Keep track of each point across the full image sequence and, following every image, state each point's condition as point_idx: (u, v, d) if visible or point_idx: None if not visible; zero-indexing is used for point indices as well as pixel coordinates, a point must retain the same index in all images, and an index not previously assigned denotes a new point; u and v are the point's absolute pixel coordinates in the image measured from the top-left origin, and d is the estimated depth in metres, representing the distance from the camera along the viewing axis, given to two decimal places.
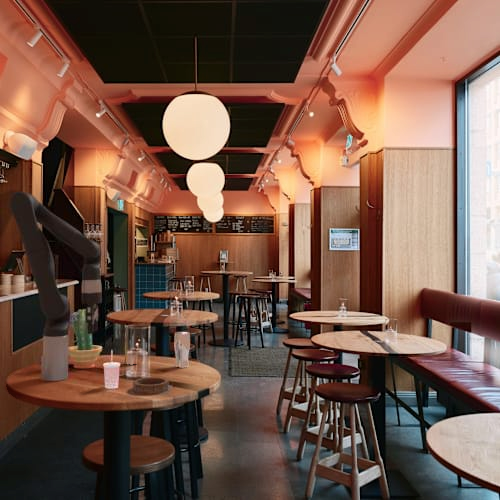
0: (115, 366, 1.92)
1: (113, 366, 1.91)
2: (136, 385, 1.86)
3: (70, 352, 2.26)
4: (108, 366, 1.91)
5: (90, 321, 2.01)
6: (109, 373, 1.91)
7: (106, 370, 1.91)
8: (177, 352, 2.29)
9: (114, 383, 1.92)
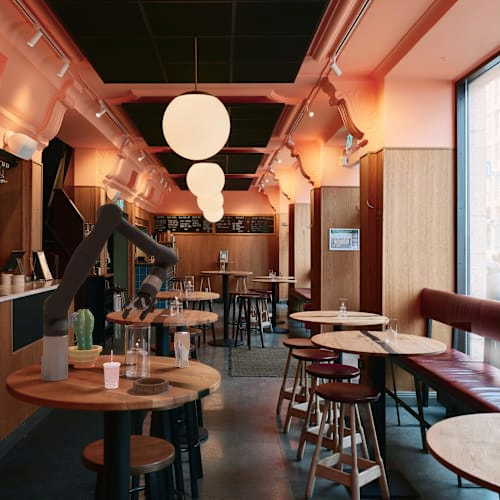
0: (115, 366, 1.92)
1: (113, 366, 1.91)
2: (136, 385, 1.86)
3: (70, 352, 2.26)
4: (108, 366, 1.91)
5: (152, 310, 2.09)
6: (109, 373, 1.91)
7: (106, 370, 1.91)
8: (177, 352, 2.29)
9: (114, 383, 1.92)
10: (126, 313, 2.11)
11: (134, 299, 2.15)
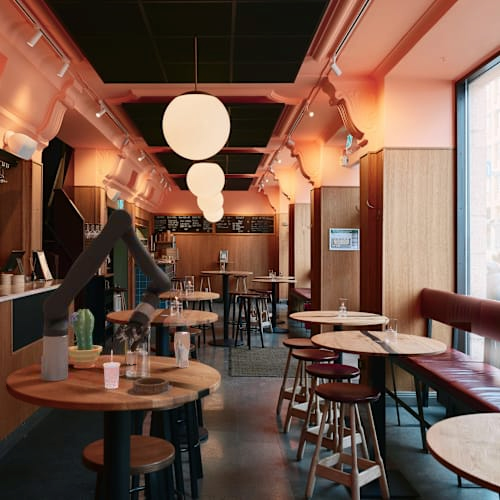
0: (115, 366, 1.92)
1: (113, 366, 1.91)
2: (136, 385, 1.86)
3: (70, 352, 2.26)
4: (108, 366, 1.91)
5: (143, 341, 1.99)
6: (109, 373, 1.91)
7: (106, 370, 1.91)
8: (177, 352, 2.29)
9: (114, 383, 1.92)
10: (116, 343, 2.02)
11: (125, 328, 2.06)
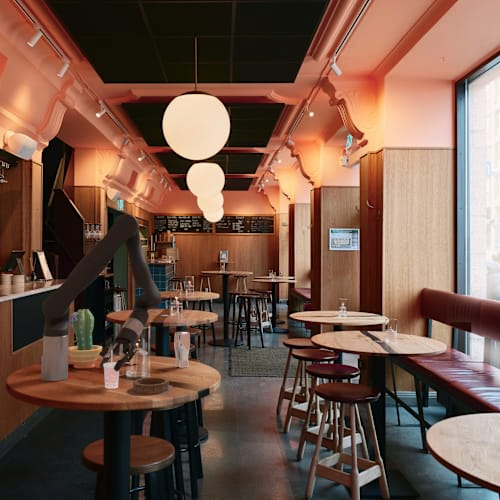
0: None
1: (113, 366, 1.91)
2: (136, 385, 1.86)
3: (70, 352, 2.26)
4: (108, 366, 1.91)
5: (128, 360, 1.93)
6: (109, 373, 1.91)
7: (106, 369, 1.91)
8: (177, 352, 2.29)
9: (114, 383, 1.92)
10: (104, 362, 1.95)
11: (113, 345, 1.99)
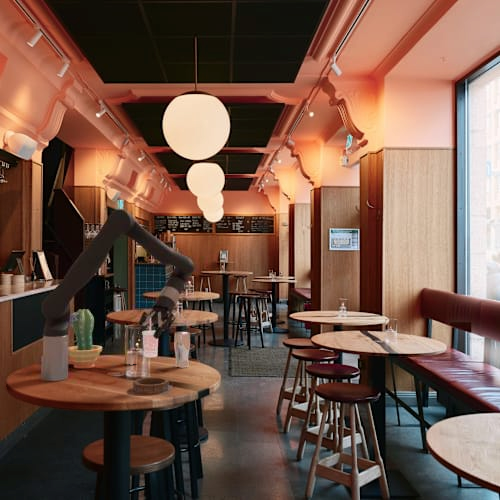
0: None
1: (152, 333, 1.89)
2: (136, 385, 1.86)
3: (70, 352, 2.26)
4: (147, 333, 1.88)
5: (167, 327, 1.90)
6: (149, 340, 1.89)
7: (145, 337, 1.89)
8: (177, 352, 2.29)
9: (153, 350, 1.89)
10: (143, 330, 1.92)
11: (150, 313, 1.96)
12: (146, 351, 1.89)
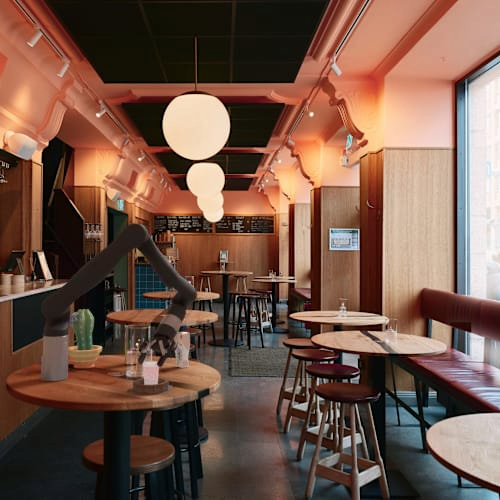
0: (155, 365, 1.89)
1: (153, 365, 1.88)
2: (136, 385, 1.86)
3: (70, 352, 2.26)
4: (148, 365, 1.88)
5: (171, 355, 1.90)
6: (149, 372, 1.88)
7: (146, 369, 1.89)
8: (177, 352, 2.29)
9: (154, 382, 1.89)
10: (142, 357, 1.92)
11: (151, 341, 1.96)
12: (146, 383, 1.89)
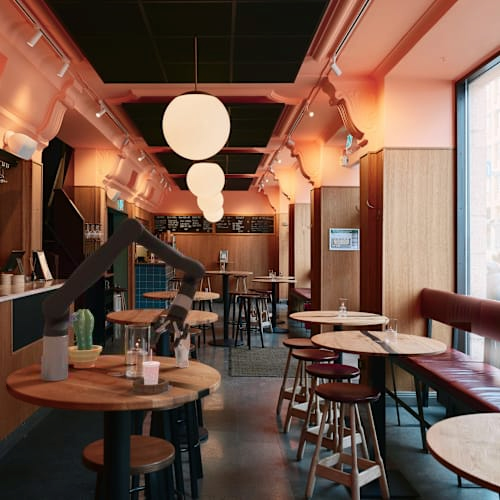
0: (155, 365, 1.89)
1: (153, 365, 1.88)
2: (136, 385, 1.86)
3: (70, 352, 2.26)
4: (148, 365, 1.88)
5: (185, 337, 2.05)
6: (149, 372, 1.88)
7: (146, 369, 1.89)
8: (177, 352, 2.29)
9: (154, 382, 1.89)
10: (157, 337, 2.07)
11: (165, 321, 2.09)
12: (146, 383, 1.89)
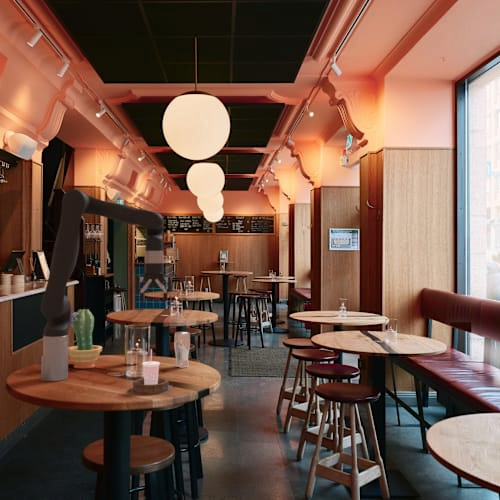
0: (155, 365, 1.89)
1: (153, 365, 1.88)
2: (136, 385, 1.86)
3: (70, 352, 2.26)
4: (148, 365, 1.88)
5: None
6: (149, 372, 1.88)
7: (146, 369, 1.89)
8: (177, 352, 2.29)
9: (154, 382, 1.89)
10: (143, 296, 2.11)
11: (145, 280, 2.11)
12: (146, 383, 1.89)
